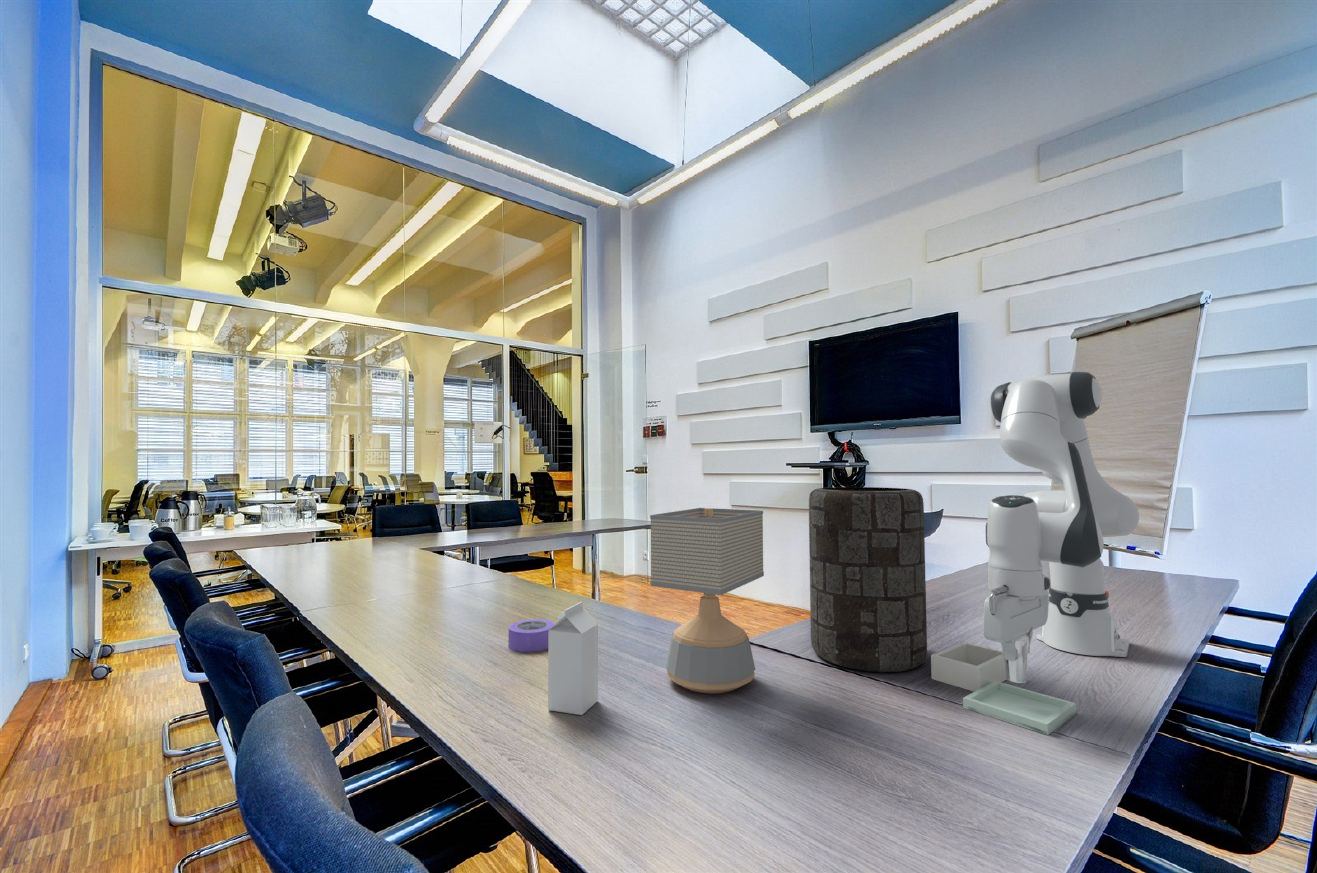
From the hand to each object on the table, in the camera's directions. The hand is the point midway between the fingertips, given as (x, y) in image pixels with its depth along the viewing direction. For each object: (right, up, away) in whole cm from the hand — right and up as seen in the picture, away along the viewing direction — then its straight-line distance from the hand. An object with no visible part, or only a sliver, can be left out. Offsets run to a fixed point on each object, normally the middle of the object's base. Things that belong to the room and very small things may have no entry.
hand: (1017, 656), depth 108 cm
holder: (0, -11, +16) cm, 19 cm away
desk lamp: (-56, -11, +14) cm, 59 cm away
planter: (-17, -12, +30) cm, 37 cm away
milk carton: (-84, -11, +2) cm, 84 cm away
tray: (0, -10, 0) cm, 10 cm away
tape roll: (-100, -13, +40) cm, 109 cm away
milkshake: (0, -5, 0) cm, 5 cm away
